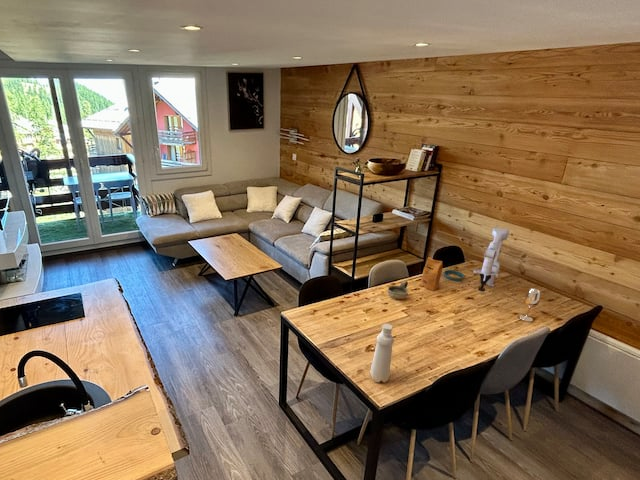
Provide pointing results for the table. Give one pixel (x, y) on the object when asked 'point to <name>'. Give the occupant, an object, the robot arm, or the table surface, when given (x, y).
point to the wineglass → (531, 302)
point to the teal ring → (454, 274)
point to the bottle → (382, 355)
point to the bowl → (399, 290)
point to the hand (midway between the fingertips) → (482, 284)
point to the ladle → (481, 287)
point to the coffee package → (431, 274)
